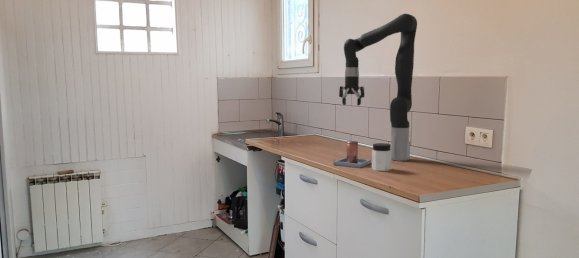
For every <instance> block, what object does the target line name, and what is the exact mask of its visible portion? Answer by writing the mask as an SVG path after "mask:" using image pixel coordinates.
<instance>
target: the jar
mask: <svg viewBox="0 0 579 258" xmlns="http://www.w3.org/2000/svg"><path fill="white" fill-rule="evenodd" d="M371 170H374V171H376V172H388V171H391V170H392V159H391V143H385V142H384V143H382V142H380V143H379V142H378V143H376V142H375V143H373V145H372V149H371Z"/></svg>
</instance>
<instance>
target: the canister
mask: <svg viewBox="0 0 579 258" xmlns="http://www.w3.org/2000/svg"><path fill="white" fill-rule="evenodd" d="M345 143H346V157H347V158H346V162H347V163H356V164H358V159H359V156H358V155H359V141H356V140H347V141H346V142H345Z"/></svg>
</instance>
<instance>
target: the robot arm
mask: <svg viewBox="0 0 579 258" xmlns="http://www.w3.org/2000/svg"><path fill="white" fill-rule="evenodd" d="M417 29H418V20H417V18H416V17H415V16H414V15H411V14H410V13H403V14H400V15H398V16H397V17H395V18H393V20H391V21H389V22H387V23H385V24H383V25H382V26H380V27H377V28H374V29H372V30H370V31H368V32H365V33H363V34H361V36H360V37H357V38H355V39H353V38H348V39H346V40H345V41H344V44H343V53H344V58H345V71H344V86H339V89H338V90H339V95H338V97H340V98H341V100H342V102H341V103H342V105H343V106H346V105H347V97H348V96H349V95H355V97H356V98H357V102H356V106H360V105H361V104H362V98H365V86H363V85H362V86H359V84H360V83H359V81H360V71H359V70H360V69H359V58H358V57H357V53H358V52H360V51H362V50H364V49H365V48H367V47H370V46H372V45H374V44H378V43H379V42H381V41H382V40H384V39H386V38H387V37H389V36H392V35H394V34H398V33H400V42H399V43H400V44H399V47H398V50H397V53H396V56H395V64H394V74H395V79H396V84H397V91H396V92H397V93H396V97H394V98H393V99H392V100H391V102H390V105H389V106H390V107H389V119H390V124H391V130H390V145H391V148H390V150H391V161H400V162H402V161H403V162H406V161H407V162H408V161H409V160H410V158H411V156H410V155H411V141H410V121H409V120H408V113H409V112H410V111H411V109H412V106H413V105H412V104H413V103H412V102H413V100H412V86H413V77H414V76H413V73H414V61H415V42H416V41H415V39H416V36H417V35H416V33H417ZM359 91H360V92H359Z"/></svg>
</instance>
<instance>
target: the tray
mask: <svg viewBox="0 0 579 258" xmlns="http://www.w3.org/2000/svg"><path fill="white" fill-rule="evenodd" d="M346 158H347V156H346V157H342V158H339V159H337V160H335V161H333V166H338V167H339V166H341V167H347V168H357V169H361V168H363V167H365V166H367V165H370V164H372V159H366V158H358V164H356V163H347V162H346Z"/></svg>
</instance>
